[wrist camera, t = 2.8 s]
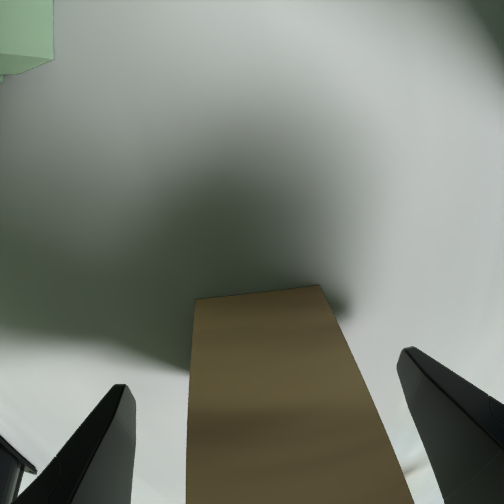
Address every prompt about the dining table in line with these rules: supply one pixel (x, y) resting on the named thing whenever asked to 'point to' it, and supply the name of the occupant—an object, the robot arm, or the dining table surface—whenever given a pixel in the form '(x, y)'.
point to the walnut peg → (282, 408)
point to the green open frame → (25, 35)
